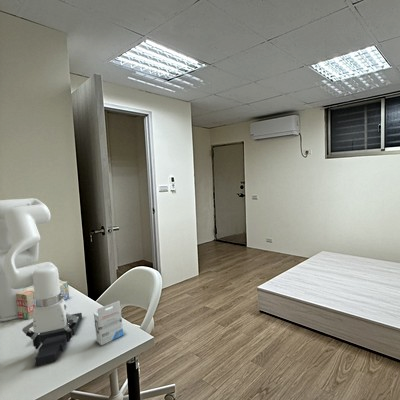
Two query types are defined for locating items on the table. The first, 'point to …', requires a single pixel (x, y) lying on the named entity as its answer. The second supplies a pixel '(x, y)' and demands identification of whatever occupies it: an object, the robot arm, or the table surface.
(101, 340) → the ink box
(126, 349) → the table surface
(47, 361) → the pad
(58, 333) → the socket pad
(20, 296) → the stack of blocks
